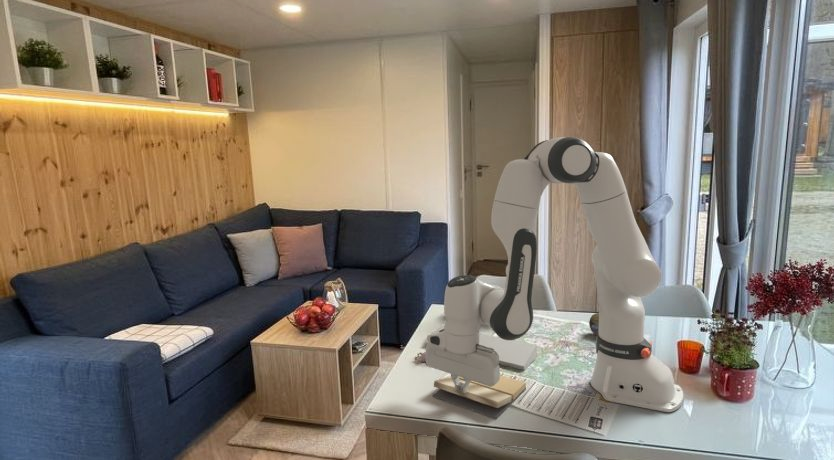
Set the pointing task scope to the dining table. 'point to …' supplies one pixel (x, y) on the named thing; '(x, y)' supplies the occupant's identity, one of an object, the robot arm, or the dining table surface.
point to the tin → (594, 323)
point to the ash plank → (475, 392)
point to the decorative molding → (509, 350)
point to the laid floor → (503, 386)
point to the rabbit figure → (421, 357)
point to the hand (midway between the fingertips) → (461, 390)
